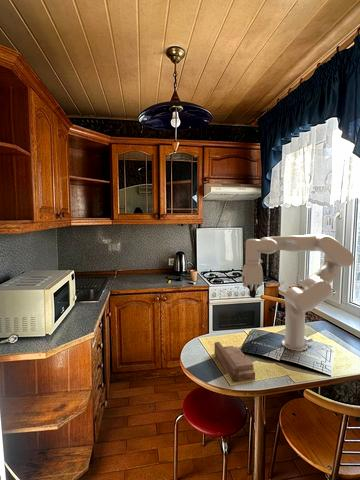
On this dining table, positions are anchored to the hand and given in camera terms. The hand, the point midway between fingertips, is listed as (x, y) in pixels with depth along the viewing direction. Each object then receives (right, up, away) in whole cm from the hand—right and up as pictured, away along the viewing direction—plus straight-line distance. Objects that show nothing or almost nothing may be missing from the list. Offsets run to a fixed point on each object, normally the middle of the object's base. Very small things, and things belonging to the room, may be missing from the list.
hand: (252, 297), depth 140 cm
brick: (-11, -29, -14) cm, 34 cm away
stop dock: (-12, -29, -15) cm, 35 cm away
